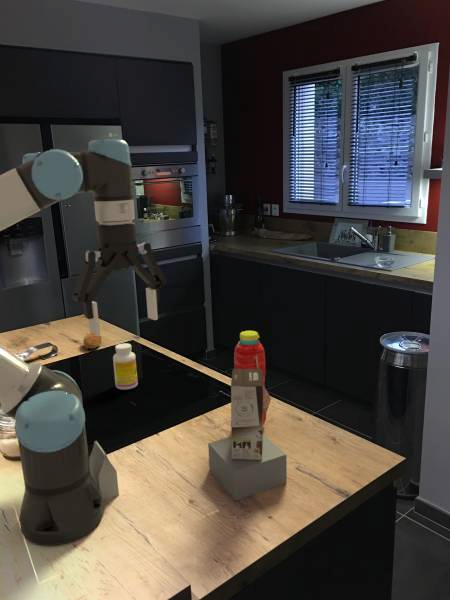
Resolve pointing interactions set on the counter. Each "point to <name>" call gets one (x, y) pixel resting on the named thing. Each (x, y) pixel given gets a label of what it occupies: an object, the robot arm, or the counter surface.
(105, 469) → the white carton
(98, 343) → the pastry
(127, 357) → the supplement bottle
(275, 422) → the counter surface
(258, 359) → the water bottle
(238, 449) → the coffee box
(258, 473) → the riser block
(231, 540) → the counter surface
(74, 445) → the robot arm
